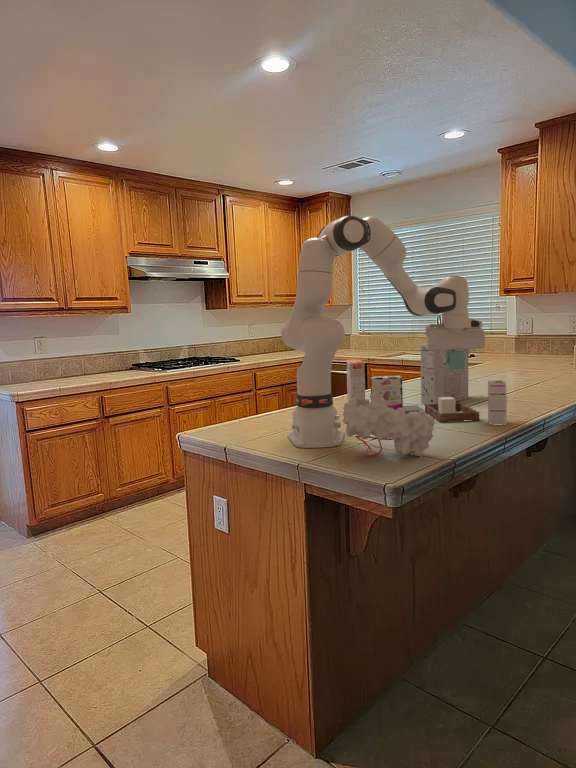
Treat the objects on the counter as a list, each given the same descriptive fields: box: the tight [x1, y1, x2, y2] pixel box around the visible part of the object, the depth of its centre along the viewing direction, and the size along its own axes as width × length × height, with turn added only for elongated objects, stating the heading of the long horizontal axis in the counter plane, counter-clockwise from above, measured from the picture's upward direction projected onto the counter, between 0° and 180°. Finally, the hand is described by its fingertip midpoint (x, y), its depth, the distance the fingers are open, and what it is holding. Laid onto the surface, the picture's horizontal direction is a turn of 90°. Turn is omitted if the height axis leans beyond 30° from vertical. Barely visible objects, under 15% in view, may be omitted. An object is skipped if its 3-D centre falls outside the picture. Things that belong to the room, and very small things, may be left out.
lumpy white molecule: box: [342, 393, 435, 457], centre depth 146 cm, size 20×18×25 cm
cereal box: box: [420, 343, 469, 405], centre depth 220 cm, size 22×8×25 cm, turn 124°
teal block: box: [446, 351, 465, 370], centre depth 185 cm, size 5×5×6 cm
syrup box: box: [487, 380, 508, 424], centre depth 177 cm, size 6×6×14 cm
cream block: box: [438, 397, 456, 414], centre depth 197 cm, size 5×5×6 cm
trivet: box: [403, 404, 425, 414], centre depth 201 cm, size 10×10×2 cm
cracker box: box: [346, 358, 366, 404], centre depth 204 cm, size 14×6×21 cm, turn 179°
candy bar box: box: [370, 375, 404, 410], centre depth 188 cm, size 11×5×16 cm, turn 76°
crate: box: [424, 402, 480, 423], centre depth 192 cm, size 19×14×3 cm
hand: (455, 362), depth 185 cm, fingers closed on teal block, 5 cm apart
